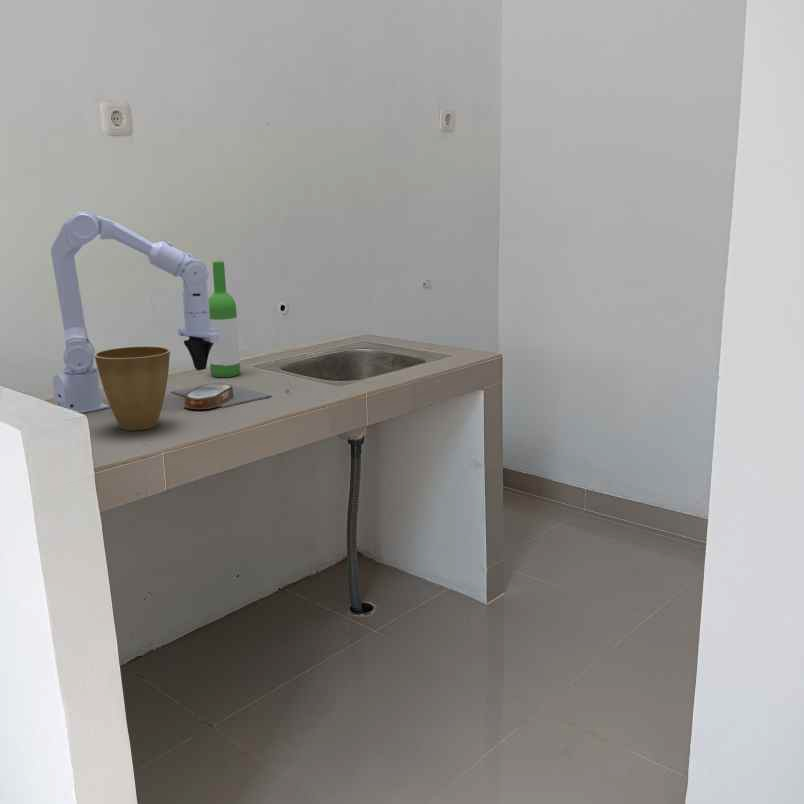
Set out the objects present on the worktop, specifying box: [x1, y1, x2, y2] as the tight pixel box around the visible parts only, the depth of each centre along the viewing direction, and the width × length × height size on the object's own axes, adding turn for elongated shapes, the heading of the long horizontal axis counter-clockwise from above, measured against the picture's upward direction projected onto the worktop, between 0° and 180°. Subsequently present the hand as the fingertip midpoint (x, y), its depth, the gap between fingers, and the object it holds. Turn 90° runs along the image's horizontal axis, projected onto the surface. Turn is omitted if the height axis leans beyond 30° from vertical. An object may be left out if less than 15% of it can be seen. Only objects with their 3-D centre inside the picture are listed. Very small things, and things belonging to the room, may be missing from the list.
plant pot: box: [94, 345, 171, 432], centre depth 180 cm, size 15×15×16 cm
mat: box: [170, 381, 273, 409], centre depth 208 cm, size 14×22×1 cm, turn 45°
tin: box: [183, 383, 234, 410], centre depth 200 cm, size 15×3×8 cm
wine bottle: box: [208, 260, 241, 378], centre depth 226 cm, size 8×8×30 cm
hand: (200, 369), depth 203 cm, fingers closed
